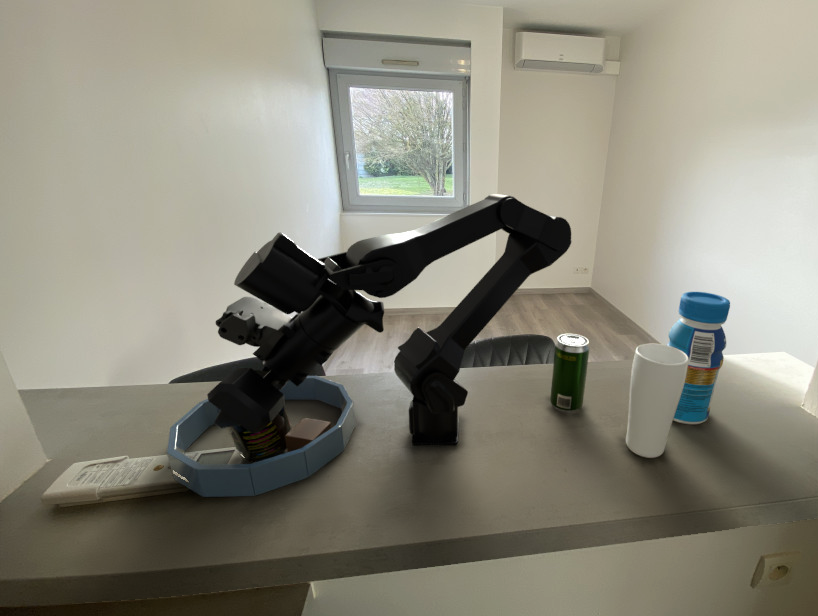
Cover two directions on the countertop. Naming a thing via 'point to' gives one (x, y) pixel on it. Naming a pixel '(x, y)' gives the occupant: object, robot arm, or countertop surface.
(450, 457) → the countertop surface
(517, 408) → the countertop surface
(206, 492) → the blue polygonal ring
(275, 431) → the supplement container
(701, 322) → the beverage bottle
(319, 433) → the walnut block
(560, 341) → the beer can
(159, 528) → the countertop surface
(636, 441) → the drinking glass
